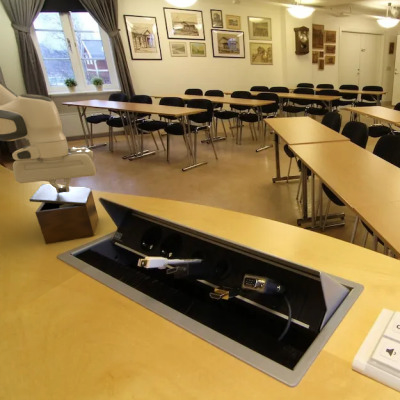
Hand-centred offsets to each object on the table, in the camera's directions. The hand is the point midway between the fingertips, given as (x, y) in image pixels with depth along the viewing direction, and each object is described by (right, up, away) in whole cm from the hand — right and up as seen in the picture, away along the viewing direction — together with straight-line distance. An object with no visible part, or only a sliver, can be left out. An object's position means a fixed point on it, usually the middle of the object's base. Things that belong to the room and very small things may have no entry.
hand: (63, 191), depth 104 cm
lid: (0, -1, 0) cm, 1 cm away
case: (0, -13, +5) cm, 14 cm away
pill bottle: (0, -12, +5) cm, 13 cm away
